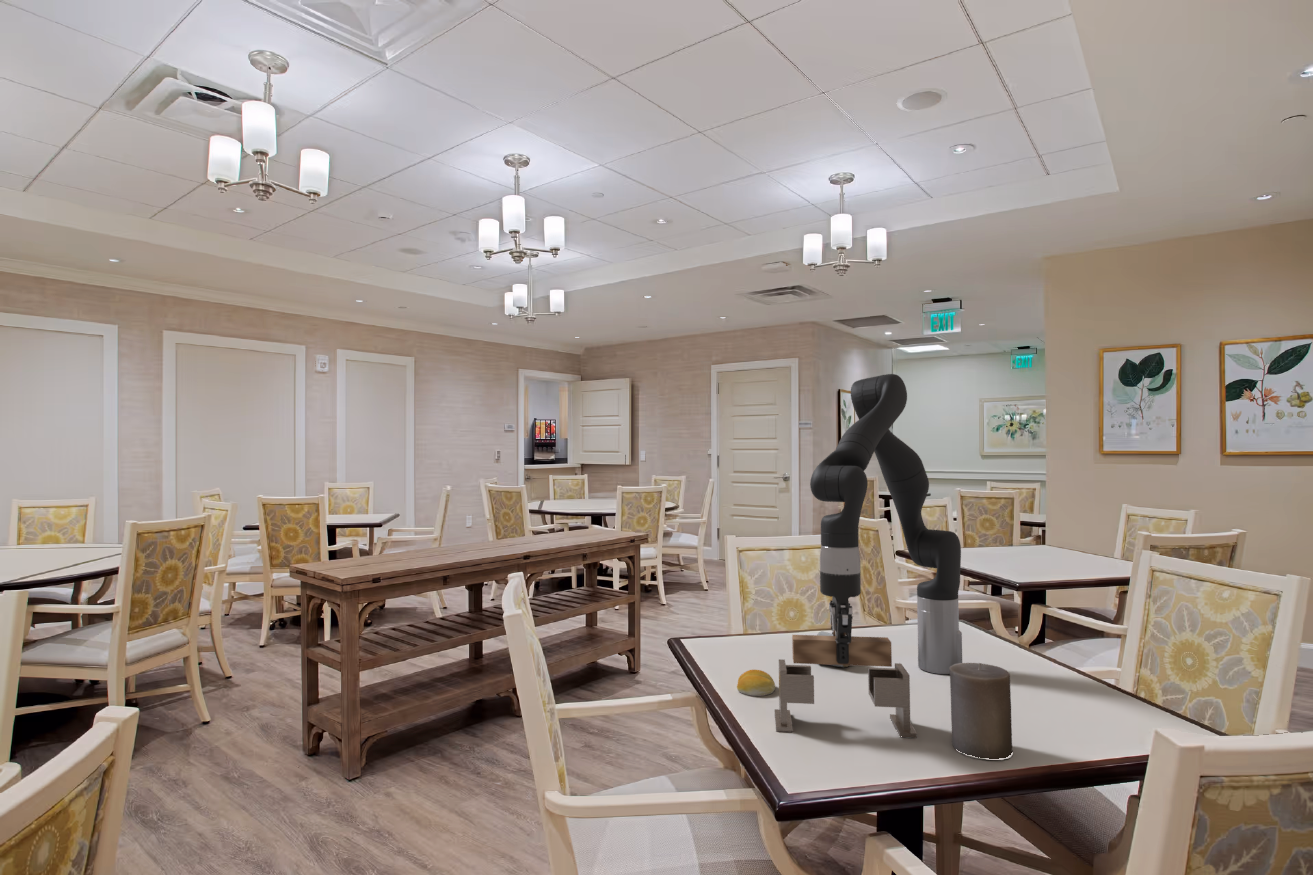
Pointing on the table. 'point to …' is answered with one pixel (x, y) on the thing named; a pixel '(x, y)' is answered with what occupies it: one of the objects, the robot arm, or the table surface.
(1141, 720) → the table surface
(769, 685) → the bread roll
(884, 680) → the brackets
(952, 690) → the pillar candle
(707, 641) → the table surface
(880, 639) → the rail
